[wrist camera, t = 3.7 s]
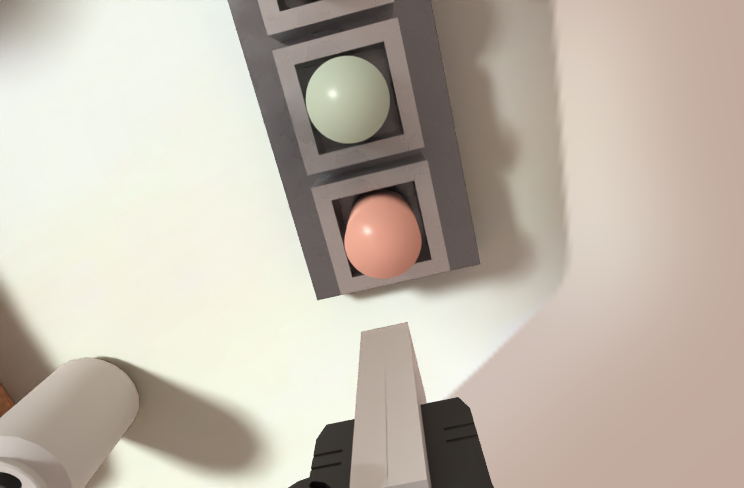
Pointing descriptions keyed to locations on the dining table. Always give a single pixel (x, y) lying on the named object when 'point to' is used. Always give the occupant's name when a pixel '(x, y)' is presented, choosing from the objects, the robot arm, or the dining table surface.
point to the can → (66, 426)
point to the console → (369, 157)
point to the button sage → (347, 99)
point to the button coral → (382, 235)
